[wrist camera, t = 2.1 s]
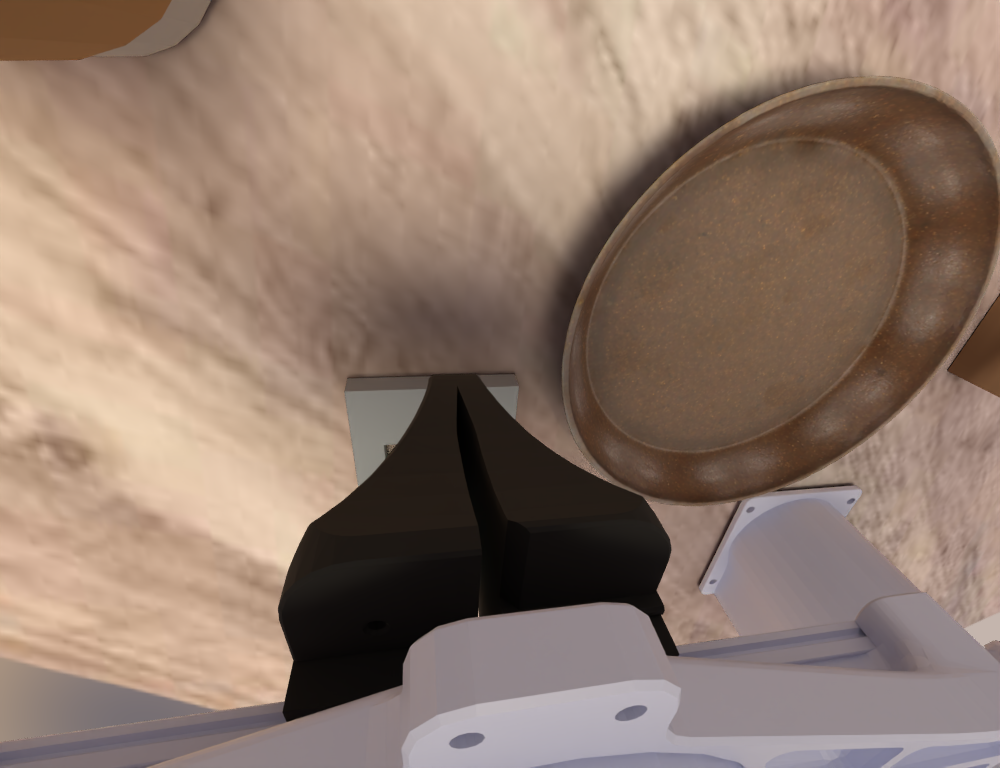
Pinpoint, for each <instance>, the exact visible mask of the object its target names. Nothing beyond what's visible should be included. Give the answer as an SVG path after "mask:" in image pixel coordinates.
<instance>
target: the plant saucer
mask: <svg viewBox="0 0 1000 768" xmlns="http://www.w3.org/2000/svg"><path fill="white" fill-rule="evenodd" d="M999 250H1000V158H999V155H998V153H997V150H996V148H995V146H994V144H993V141H992V139H991V137H990V135H989V134H988V132H987V130H986V129H985V128H984V126H983V125H982V123H981V122H980V121H979V120H978V118H977V117H976V116H975V115H974V114H973V113H972V112H971V111H970V110H969V109H968V108H967V107H966V106H965V105H963V104H962V103H961V102H959V101H958V100H956V99H955V98H954V97H952V96H950V95H948V94H947V93H945V92H943V91H941V90H940V89H937V88H935V87H932V86H930V85H927V84H924V83H921V82H917V81H914V80H910V79H904V78H899V77H890V76H869V77H851V78H843V79H836V80H830V81H826V82H821V83H817V84H812V85H809V86H806V87H803V88H800V89H797V90H794V91H791V92H788V93H785V94H782V95H780V96H778V97H775V98H773V99H771V100H768V101H766V102H764V103H762V104H760V105H758V106H756V107H754V108H752V109H750V110H748V111H746V112H745V113H743V114H741V115H739V116H738V117H736V118H734V119H733V120H731V121H729V122H728V123H726V124H725V125H723V126H721V127H720V128H718V129H717V130H715V131H714V132H712V133H711V134H710V135H708V136H707V137H705V138H704V139H703V140H701V141H700V142H699V143H698V144H696V145H695V146H694V147H693V148H691V149H690V150H689V151H688V152H686V153H685V154H684V155H683V156H682V157H680V158H679V159H678V160H677V161H676V162H674V163H673V164H672V165H671V166H670V167H669V168H668V169H667V170H666V171H665V172H664V173H663V174H662V175H661V176H660V177H659V178H658V179H657V180H656V181H655V182H654V183H653V184H652V185H651V186H650V187H649V188H648V189H647V190H646V191H645V192H644V194H643V195H642V196H641V197H640V198H639V199H638V200H637V202H636V203H635V204H634V205H633V206H632V207H631V209H630V210H629V211H628V213H627V214H626V215H625V217H624V218H623V219H622V220H621V222H620V223H619V224H618V226H617V227H616V228H615V230H614V231H613V233H612V234H611V236H610V237H609V239H608V240H607V242H606V243H605V245H604V247H603V248H602V250H601V252H600V253H599V255H598V257H597V259H596V260H595V262H594V264H593V266H592V268H591V270H590V272H589V274H588V276H587V278H586V279H585V282H584V284H583V286H582V289H581V291H580V294H579V296H578V299H577V301H576V304H575V307H574V310H573V313H572V316H571V319H570V323H569V327H568V331H567V335H566V340H565V347H564V352H563V361H562V394H563V403H564V409H565V414H566V417H567V421H568V424H569V427H570V430H571V433H572V435H573V437H574V439H575V442H576V444H577V445H578V447H579V449H580V450H581V452H582V453H583V455H584V456H585V458H586V459H587V460H588V461H589V463H590V464H591V465H592V466H593V467H594V468H595V469H596V470H597V471H598V472H599V473H600V474H601V475H602V476H603V477H605V478H606V479H607V480H608V481H610V482H611V483H612V484H614V485H616V486H618V487H621V488H623V489H626V490H628V491H631V492H633V493H636V494H638V495H640V496H643V497H644V499H646V500H649V501H653V502H658V503H661V504H668V505H682V506H705V505H717V504H725V503H730V502H735V501H740V500H745V499H748V498H752V497H756V496H760V495H763V494H766V493H769V492H772V491H775V490H778V489H780V488H782V487H785V486H788V485H790V484H792V483H795V482H797V481H800V480H802V479H804V478H806V477H808V476H810V475H811V474H813V473H815V472H817V471H819V470H821V469H823V468H825V467H827V466H828V465H830V464H832V463H834V462H836V461H837V460H839V459H840V458H842V457H843V456H845V455H846V454H848V453H849V452H851V451H852V450H853V449H855V448H856V447H858V446H859V445H861V444H862V443H863V442H865V441H866V440H867V439H868V438H870V437H871V436H872V435H874V434H875V433H876V432H877V431H879V430H880V429H881V428H883V427H884V426H885V425H886V424H887V423H889V422H890V421H891V420H892V419H893V418H894V417H895V416H896V415H898V414H899V413H900V412H901V411H902V410H903V409H904V408H905V407H906V406H907V405H908V404H909V403H910V402H911V401H912V400H913V398H915V397H916V396H917V395H918V394H919V393H920V391H921V390H922V389H923V388H924V387H925V386H926V385H927V384H928V382H929V381H930V380H931V379H932V378H933V377H934V376H935V374H936V373H937V372H938V370H939V369H940V368H941V366H942V365H943V364H944V362H945V361H946V360H947V358H948V357H949V356H950V354H951V353H952V352H953V351H954V349H955V347H956V346H957V344H958V342H959V340H960V339H961V338H962V336H963V335H964V333H965V332H966V330H967V328H968V326H969V324H970V323H971V321H972V319H973V317H974V316H975V314H976V312H977V310H978V308H979V306H980V303H981V300H982V298H983V296H984V295H985V292H986V289H987V287H988V284H989V282H990V280H991V277H992V274H993V272H994V269H995V266H996V262H997V259H998V255H999Z"/></svg>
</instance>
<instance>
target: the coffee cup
mask: <svg viewBox="0 0 1000 768" xmlns="http://www.w3.org/2000/svg"><path fill="white" fill-rule="evenodd" d="M210 2H211V0H0V61H28V60H80V59H84V58H87V57H90V56H100V57H124V56H148V55H151V54H154V53H156V52H159V51H162V50H165V49H167V48H170V47H173V46H176V45H177V44H178V43H179V42H180V41H181V40H182V39H183V38H185V37H186V36H187V35H188V34H189V33H190V32H191V31H192V30H193V29H195V28H196V27H197V26H198V25H199V23H200V21H201V19H202V17H203V15H204V14H205V12H206V10H207V8H208V6H209V4H210Z"/></svg>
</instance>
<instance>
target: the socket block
mask: <svg viewBox="0 0 1000 768" xmlns="http://www.w3.org/2000/svg"><path fill="white" fill-rule="evenodd" d="M478 376H479V377H480V379H481V380H482V382H483V383H484V384H485V386H486V387H487V388H488V390H489V391H490V392H491V393H492V395H493V396H494V397H495V398H496V400H497V401H498V402H499V403H500V404H501V405H502V406H503V407H504V409H505V410H506V411H507V412H508V413H509V414H510V415H511V416H512V417H513V418H514V419H516V410H517V400H518V390H519V385H518V382H517V380H516V377H515V374H496V375H478ZM430 377H431V376H419V377H380V378H348V379H347V383H346V387H345V391H344V392H345V399H346V406H347V413H348V420H349V426H350V433H351V440H352V447H353V454H354V461H355V467H356V474H357V481H358V487H359V486H360V485H361V484H362V483H363V482H364V481H365V480H366V479H367V478H368V477H369V476H370V475H371V474H372V473H373V472H374V471H375V470H376V469H377V468H378V467H379V466H380V464H381V463H382V462H383V461H384V460H385V459H386V458H387V456H388V455H387V445H395V444H397V443H398V442H399V441H400V439H401V438H402V436H403V435H404V433H405V432H406V430H407V428H408V427H409V425H410V423H411V422H412V420H413V418H414V416H415V415H416V413H417V410H418V408H419V406H420V404H421V402H422V400H423V397H424V395H425V392H426V389H427V386H428V379H429V378H430Z"/></svg>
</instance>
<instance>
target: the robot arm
mask: <svg viewBox="0 0 1000 768" xmlns="http://www.w3.org/2000/svg"><path fill="white" fill-rule="evenodd" d="M861 494H862V490H861V489H860V488H859V487H857V486H841V487H828V488H815V489H802V490H790V491H777V492H769V493H766V494H763V495H760V496H756V497H752V498H748V499H745V500H742V501H741V503H740V505H739V507H738V509H737V511H736V513H735V515H734V517H733V519H732V522H731V524H730V526H729V528H728V530H727V532H726V534H725V536H724V538H723V540H722V542H721V544H720V546H719V548H718V550H717V552H716V554H715V556H714V558H713V560H712V562H711V564H710V566H709V568H708V570H707V572H706V574H705V576H704V578H703V580H702V582H701V584H700V586H699V589H700V591H701V593H702V594H715V596H716V598H717V599H718V601H719V603H720V604H721V606H722V608H723V609H724V611H725V613H726V614H727V616H728V618H729V619H730V621H731V622H732V624H733V626H734V627H735V629H736V631H737V632H738V634H739V636H740V637H735V638H728V639H721V640H714V641H707V642H700V643H693V644H686V645H679V646H675V644H674V641H673V639H672V637H671V635H670V633H669V631H668V629H667V627H666V625H665V623H664V621H663V618H662V616H661V615H662V614H663V613H664V611H665V610H664V605H663V603H662V601H661V599H660V597H659V595H658V593H657V591H656V590H657V588H658V585H659V583H660V580H661V578H662V576H663V573H664V571H665V569H666V566H667V564H668V561H669V558H670V554H671V544H670V539H669V537H668V535H667V533H666V532H665V530H664V528H663V527H662V525H661V523H660V521H659V520H658V518H657V516H656V515H655V513H654V512H653V510H652V509H651V507H650V506H649V505H648V503H647V502H646V500H645V499H644V497H643V496H640V495H638V494H636V493H633V492H631V491H628V490H626V489H623V488H621V487H618V486H616V485H614V484H611V483H609V482H607V481H604V480H602V479H600V478H598V477H596V476H594V475H592V474H590V473H588V472H586V471H585V470H583V469H581V468H579V467H577V466H576V465H574V464H572V463H571V462H569V461H567V460H566V459H564V458H563V457H561V456H559V455H558V454H556V453H555V452H553V451H552V450H550V449H549V448H548V447H546V446H545V445H544V444H542V443H541V442H540V441H538V440H537V439H536V438H535V437H533V436H532V435H531V434H530V433H528V432H527V431H526V430H525V429H524V428H523V427H522V426H521V425H520V424H519V423H518V422H517V421H516V420H515V419H514V418H513V417H512V416H511V415H510V414H509V413H508V412H507V411H506V410H505V409H504V407H503V406H502V405H501V404H500V403H499V402H498V401H497V400H496V398H495V397H494V396H493V395H492V393H491V392H490V391H489V390H488V388H487V387H486V386H485V384H484V383H483V382H482V380H481V379H480V377H479V376H478V375H477V374H446V375H432V376H431V377H430V378H429V379H428V386H427V389H426V392H425V395H424V397H423V400H422V402H421V404H420V406H419V408H418V410H417V413H416V415H415V416H414V418H413V420H412V422H411V423H410V425H409V427H408V428H407V430H406V432H405V433H404V435H403V436H402V438H401V439H400V441H399V442H398V443H397V445H396V446H395V448H394V449H393V450H392V451H391V453H390V454H389V455H388V456H387V458H386V459H385V460H384V461H383V462H382V463H381V464H380V466H379V467H378V468H377V469H376V470H375V471H374V472H373V473H372V474H371V475H370V476H369V477H368V478H367V479H366V480H365V481H364V482H363V483H362V484H361V485H360V486H359V487H358V488H356V489H355V490H354V491H353V492H352V493H351V494H350V495H349V496H348V497H347V498H345V499H344V500H343V501H342V502H340V503H339V504H338V505H336V506H335V507H334V508H332V509H331V510H329V511H328V512H327V513H325V514H324V515H322V516H321V517H320V518H318V519H317V520H315V521H314V522H312V523H311V524H310V525H309V526H308V528H307V530H306V532H305V534H304V536H303V538H302V540H301V542H300V544H299V546H298V548H297V551H296V553H295V555H294V558H293V560H292V562H291V565H290V567H289V570H288V573H287V576H286V580H285V584H284V587H283V591H282V595H281V599H280V602H279V606H278V613H279V621H280V624H281V627H282V630H283V632H284V635H285V638H286V641H287V644H288V646H289V649H290V652H291V655H292V658H293V660H294V661H293V666H292V670H291V675H290V679H289V684H288V689H287V693H286V698H285V702H278V703H271V704H264V705H257V706H250V707H243V708H236V709H229V710H222V711H215V712H208V713H201V714H194V715H187V716H180V717H173V718H166V719H159V720H152V721H144V722H137V723H131V724H124V725H116V726H110V727H103V728H95V729H88V730H81V731H75V732H67V733H60V734H53V735H46V736H39V737H32V738H25V739H18V740H11V741H4V742H0V768H1000V641H997V640H995V641H992V642H990V643H988V644H986V645H985V648H984V647H983V646H981V645H980V644H979V643H978V642H977V641H976V640H975V639H974V638H973V637H972V636H971V635H970V634H969V633H968V632H967V631H966V630H965V629H964V628H963V627H962V626H961V625H960V624H959V623H958V622H956V621H955V620H954V619H953V618H952V617H951V616H950V615H949V614H948V613H947V612H946V611H945V610H944V609H943V608H942V607H941V606H940V605H939V604H938V603H937V602H936V601H935V600H934V599H933V598H932V597H931V596H929V595H928V594H927V593H926V592H921V591H920V590H919V589H918V588H917V587H916V586H915V585H914V584H913V583H912V582H911V581H910V580H909V579H908V578H907V577H905V576H904V575H903V574H902V573H901V572H900V571H899V570H898V569H897V568H896V567H895V566H894V565H893V564H892V563H891V562H890V561H889V560H888V559H887V558H886V557H885V556H884V555H883V554H882V553H881V552H880V551H879V550H878V549H877V548H876V547H875V546H874V545H873V544H872V543H870V542H869V541H868V540H867V539H866V538H865V537H864V536H863V535H862V534H861V533H860V532H859V531H858V530H857V529H856V528H855V527H854V526H853V525H852V524H851V523H850V522H849V521H848V520H847V519H846V518H845V517H846V516H847V515H848V513H849V512H850V510H851V509H852V507H853V506H854V504H855V503H856V502H857V500H858V499H859V497H860V496H861ZM478 607H479V617H478Z"/></svg>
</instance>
